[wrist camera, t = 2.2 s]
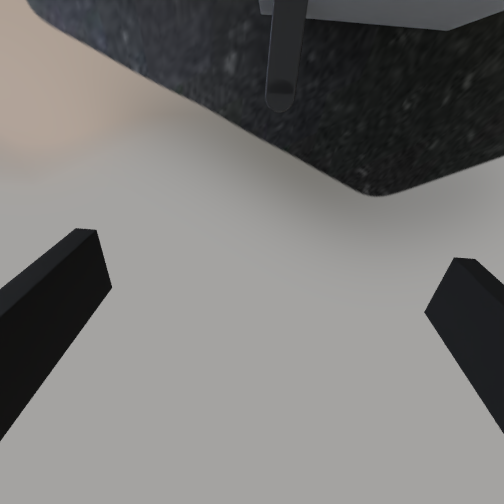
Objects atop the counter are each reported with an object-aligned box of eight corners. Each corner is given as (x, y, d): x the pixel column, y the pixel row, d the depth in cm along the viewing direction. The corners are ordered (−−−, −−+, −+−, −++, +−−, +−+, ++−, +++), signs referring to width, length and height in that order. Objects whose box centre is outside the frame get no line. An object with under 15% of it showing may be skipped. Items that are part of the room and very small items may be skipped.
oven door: (418, 118, 25) (547, 139, 13) (254, 102, 26) (237, 110, 14) (453, 14, 22) (672, -82, 10) (261, -2, 22) (248, -116, 10)
